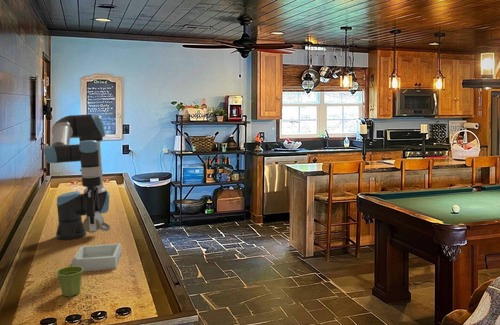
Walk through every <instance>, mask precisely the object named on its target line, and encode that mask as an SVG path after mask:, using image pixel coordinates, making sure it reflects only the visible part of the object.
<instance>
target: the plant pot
mask: <svg viewBox="0 0 500 325" xmlns="http://www.w3.org/2000/svg"><path fill="white" fill-rule="evenodd" d="M82 271H83V268H82V267H79V266H72V265H71V266H67V267H66V266H65V267H62V268H60V269H58V270H56V271H55V275H56V276H57V278H58V281H59V286H60V290H61V295H62V296H63V297H66V296H68V297H73V296H75V295H79V294H80V293H81V289H82V288H81V286H82V285H81V284H82V275H83V272H84V271H83V272H82Z"/></svg>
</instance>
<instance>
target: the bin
mask: <svg viewBox="0 0 500 325" xmlns="http://www.w3.org/2000/svg"><path fill="white" fill-rule="evenodd" d="M121 256H122V243H111V244H110V243H109V244H108V243H107V244H97V245H84V246H83V245H82V246H80V247H79V249H78V250H77V252H76V254H75V255H74V257H73V258H72V259H71V266H79V267H82V268H83V271H82V273H83V272H93V271H95V272H96V271H103V270H106V271H107V270H116V269H117V267H118V265H119V262H120V259H121Z"/></svg>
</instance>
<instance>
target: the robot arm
mask: <svg viewBox="0 0 500 325" xmlns="http://www.w3.org/2000/svg"><path fill="white" fill-rule="evenodd" d="M51 135H52V139H51V143H50V144H51V145H47V146H45V147H44V148H43V149H44V150H43V151H44V161H45V162H46V163H47V164H61V163H71V162H75V163H77V162H80V170H79V171H80V172H81V176H82V177H81V184H82V187H84V190H83V193H80V191H79V190H75V191H70V192H65V193H61V194H60V195H57V198H56V206H57V217H58V218H57V219H58V220H57V221H58V225H57V228H56V232H55V237H56V239H57V240H75V239H79V238H82V237H85V236H86V235H87V231H86V230H85V229H84V227H83V222H84V221H83V219H82V216H85V217H89V228H90V232H91V231H96V232H98V231H97V228H96V216H95V212H98V213H100V214H101V215H103V214H106V213H108V212H109V208H110V192H109V191H107V188H106V187H105V186H104V178H103V167H102V153H101V143H102V142H103V137H106V131H105V127H104V123H103V118H102V116H101V114H92V113H91V114H76V115H66V116H64V117H61V118H60V119H59V120H57V121H56V122H54V124H53V125H52V128H51ZM71 139H78V140H79V143H78V144H70V142H71V141H70V140H71Z"/></svg>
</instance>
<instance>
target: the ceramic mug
mask: <svg viewBox="0 0 500 325" xmlns="http://www.w3.org/2000/svg"><path fill="white" fill-rule="evenodd" d="M95 216H96V228H97V231H91V232H90V228H89V217H87V216H85V218H84V220H83V221H82V222H83V227H84V229H85V230H86V233H89V234H90V233H91V234H94V233H96V232H98V231H103V232H104V231H105V232H107V231H110V228H111V226H110V224H108V223H106V222H105V219H104V216H103V214H100V213H98V212H95Z"/></svg>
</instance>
